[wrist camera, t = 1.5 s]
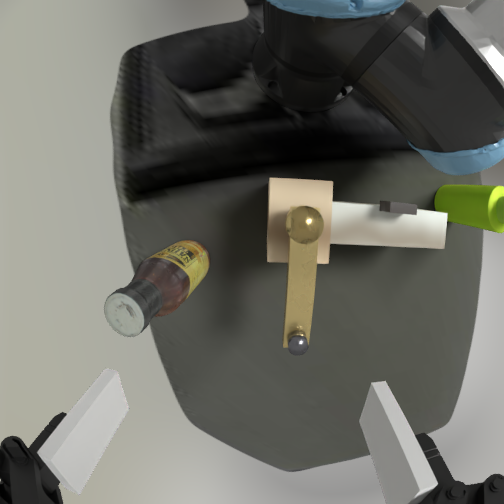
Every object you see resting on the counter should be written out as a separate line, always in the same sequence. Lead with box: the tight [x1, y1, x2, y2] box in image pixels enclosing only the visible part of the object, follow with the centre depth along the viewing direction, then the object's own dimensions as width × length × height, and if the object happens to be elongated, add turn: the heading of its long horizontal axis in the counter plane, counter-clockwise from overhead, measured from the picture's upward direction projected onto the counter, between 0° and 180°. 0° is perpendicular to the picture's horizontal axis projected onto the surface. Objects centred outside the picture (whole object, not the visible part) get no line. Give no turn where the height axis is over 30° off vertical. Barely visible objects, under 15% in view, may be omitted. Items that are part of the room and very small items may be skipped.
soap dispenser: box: [435, 185, 504, 233], centre depth 26 cm, size 6×7×20 cm
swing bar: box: [282, 205, 324, 355], centre depth 24 cm, size 13×3×3 cm, turn 178°
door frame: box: [267, 178, 448, 264], centre depth 30 cm, size 8×20×15 cm, turn 88°
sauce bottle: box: [104, 240, 210, 337], centre depth 30 cm, size 7×6×20 cm
